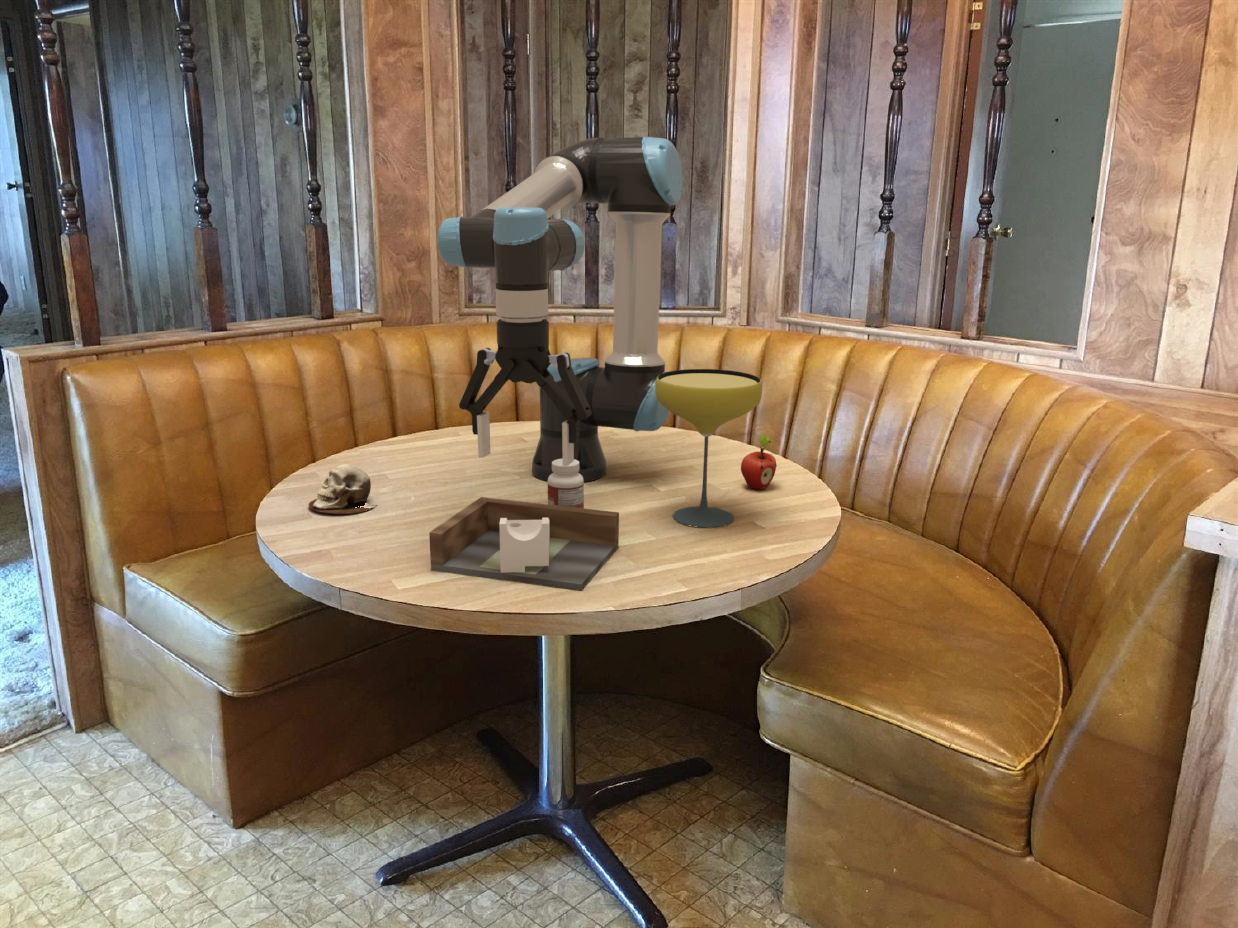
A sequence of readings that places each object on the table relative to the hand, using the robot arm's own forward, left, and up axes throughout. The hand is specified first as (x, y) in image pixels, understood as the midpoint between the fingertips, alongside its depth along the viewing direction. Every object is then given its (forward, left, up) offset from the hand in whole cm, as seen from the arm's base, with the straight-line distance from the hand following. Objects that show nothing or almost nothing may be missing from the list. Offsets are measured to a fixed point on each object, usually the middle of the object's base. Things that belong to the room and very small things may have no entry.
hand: (525, 459), depth 140 cm
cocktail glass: (-28, +22, -16) cm, 39 cm away
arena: (0, 0, -16) cm, 16 cm away
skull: (-13, -41, -17) cm, 46 cm away
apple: (-49, +28, -16) cm, 59 cm away
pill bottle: (-17, 0, -16) cm, 24 cm away
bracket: (+1, 0, -15) cm, 15 cm away
